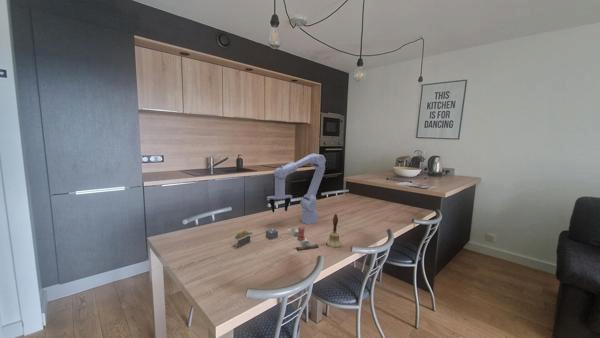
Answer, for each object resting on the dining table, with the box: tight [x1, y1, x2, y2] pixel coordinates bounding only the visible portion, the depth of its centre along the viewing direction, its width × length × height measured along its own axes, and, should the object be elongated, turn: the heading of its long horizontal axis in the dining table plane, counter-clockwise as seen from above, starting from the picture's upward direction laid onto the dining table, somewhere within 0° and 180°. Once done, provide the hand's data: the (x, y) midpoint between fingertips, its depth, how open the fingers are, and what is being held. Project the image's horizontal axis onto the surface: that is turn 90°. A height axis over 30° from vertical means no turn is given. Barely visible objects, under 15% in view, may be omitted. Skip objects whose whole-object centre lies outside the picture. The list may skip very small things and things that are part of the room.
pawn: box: [297, 225, 306, 242], centre depth 128 cm, size 4×4×7 cm
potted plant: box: [234, 230, 253, 248], centre depth 123 cm, size 12×18×7 cm, turn 144°
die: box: [265, 228, 279, 241], centre depth 130 cm, size 4×4×5 cm
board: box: [287, 227, 319, 252], centre depth 131 cm, size 11×25×1 cm, turn 21°
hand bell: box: [325, 213, 343, 248], centre depth 126 cm, size 8×8×16 cm
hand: (279, 211), depth 143 cm, fingers open, 7 cm apart
